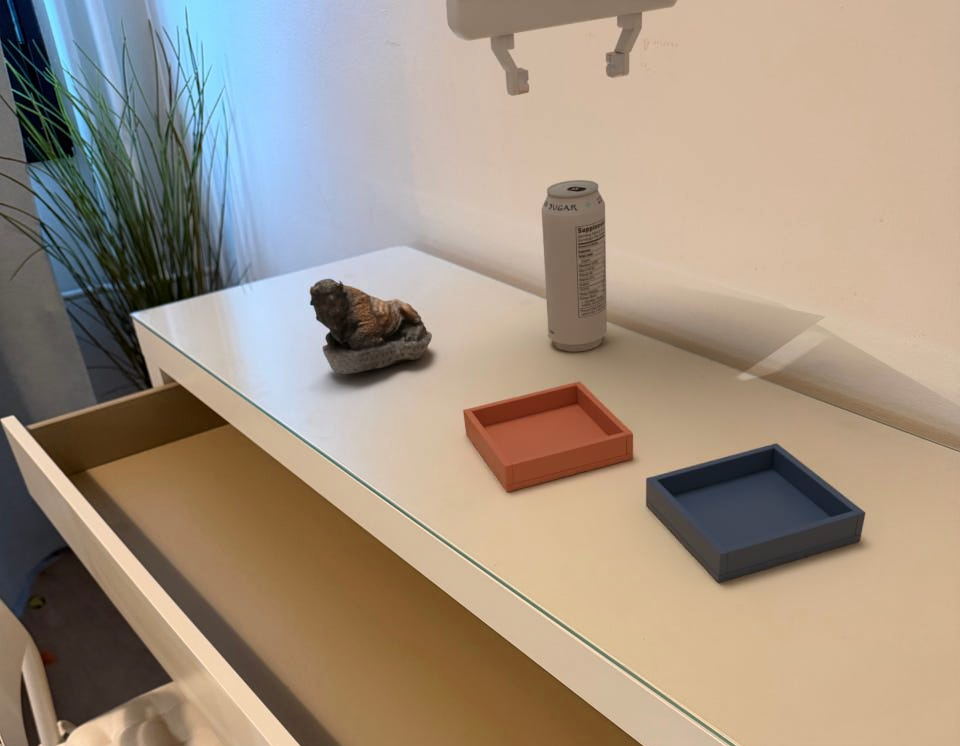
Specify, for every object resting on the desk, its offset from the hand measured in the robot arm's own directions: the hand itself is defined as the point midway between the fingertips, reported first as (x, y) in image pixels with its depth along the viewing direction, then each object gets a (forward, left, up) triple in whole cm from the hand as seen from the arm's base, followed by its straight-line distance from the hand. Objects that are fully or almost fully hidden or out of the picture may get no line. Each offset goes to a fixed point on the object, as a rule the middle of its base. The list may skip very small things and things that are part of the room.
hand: (568, 84), depth 82 cm
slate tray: (+2, +37, -23) cm, 44 cm away
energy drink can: (0, 0, -24) cm, 24 cm away
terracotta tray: (+11, +19, -23) cm, 32 cm away
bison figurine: (+20, -5, -24) cm, 31 cm away
